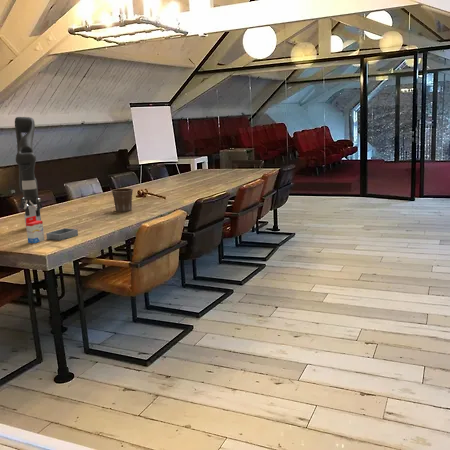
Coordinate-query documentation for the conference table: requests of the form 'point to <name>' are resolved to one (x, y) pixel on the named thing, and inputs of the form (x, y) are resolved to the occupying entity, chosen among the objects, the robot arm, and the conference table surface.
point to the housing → (62, 234)
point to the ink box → (34, 230)
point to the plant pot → (123, 199)
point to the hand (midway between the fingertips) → (32, 216)
